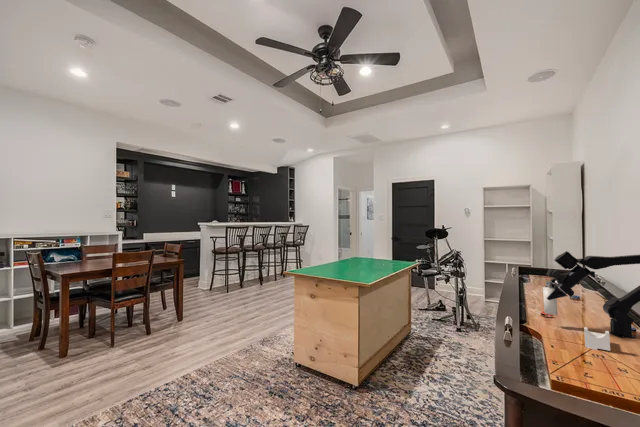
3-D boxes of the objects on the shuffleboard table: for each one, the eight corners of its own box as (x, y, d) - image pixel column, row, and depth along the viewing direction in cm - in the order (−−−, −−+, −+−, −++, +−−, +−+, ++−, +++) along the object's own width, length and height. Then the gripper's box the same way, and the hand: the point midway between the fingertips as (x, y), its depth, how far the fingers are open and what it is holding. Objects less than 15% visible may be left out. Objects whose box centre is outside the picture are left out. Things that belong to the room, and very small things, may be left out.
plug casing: (560, 314, 138) (558, 284, 138) (549, 314, 138) (547, 284, 139) (552, 311, 143) (551, 283, 143) (541, 311, 143) (540, 283, 144)
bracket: (610, 353, 110) (609, 333, 111) (585, 348, 115) (584, 328, 115) (609, 343, 120) (608, 324, 120) (585, 339, 125) (584, 321, 125)
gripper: (554, 261, 148) (528, 282, 153) (563, 265, 132) (534, 288, 136) (575, 278, 144) (548, 299, 148) (587, 284, 127) (556, 307, 132)
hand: (546, 298), depth 141 cm, fingers closed on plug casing, 5 cm apart
